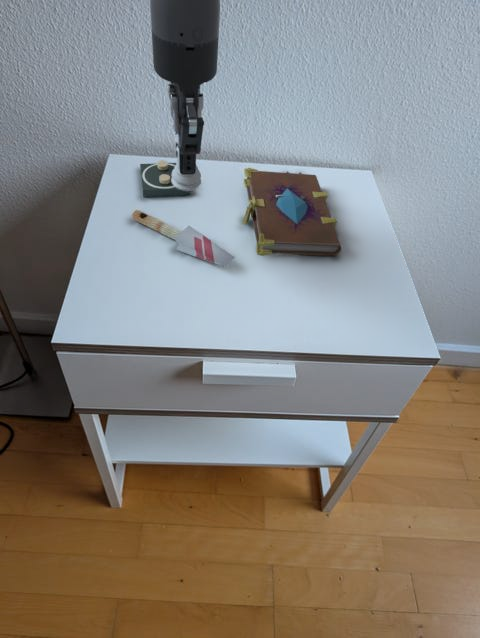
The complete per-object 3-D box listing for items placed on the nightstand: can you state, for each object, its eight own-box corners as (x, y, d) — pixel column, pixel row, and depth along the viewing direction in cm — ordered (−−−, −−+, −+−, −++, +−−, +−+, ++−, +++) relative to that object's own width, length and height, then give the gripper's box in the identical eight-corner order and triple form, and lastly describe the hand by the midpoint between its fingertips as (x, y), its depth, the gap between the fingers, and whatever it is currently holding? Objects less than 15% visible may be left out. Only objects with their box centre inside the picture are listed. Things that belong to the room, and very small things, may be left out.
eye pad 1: (157, 170, 81) (157, 166, 81) (157, 164, 82) (156, 160, 82) (168, 170, 82) (168, 166, 81) (167, 164, 83) (167, 160, 82)
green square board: (143, 197, 79) (142, 189, 78) (140, 170, 84) (140, 163, 82) (188, 195, 80) (188, 187, 79) (183, 169, 85) (183, 161, 84)
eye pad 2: (159, 184, 79) (159, 180, 78) (159, 177, 80) (158, 174, 79) (170, 184, 79) (170, 180, 78) (169, 177, 80) (169, 173, 79)
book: (310, 177, 89) (317, 155, 85) (338, 262, 74) (348, 240, 70) (232, 171, 86) (236, 149, 82) (246, 259, 71) (251, 236, 67)
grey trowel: (223, 262, 66) (127, 213, 72) (223, 274, 68) (129, 226, 75) (237, 248, 68) (142, 202, 75) (237, 261, 70) (144, 215, 77)
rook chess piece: (184, 171, 66) (183, 120, 59) (207, 182, 64) (209, 132, 58) (164, 183, 63) (162, 132, 57) (188, 196, 62) (188, 145, 56)
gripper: (146, 3, 51) (154, 139, 65) (157, 53, 43) (164, 196, 56) (208, 6, 53) (203, 138, 66) (230, 55, 44) (220, 194, 58)
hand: (185, 164), depth 61 cm, fingers closed on rook chess piece, 3 cm apart
